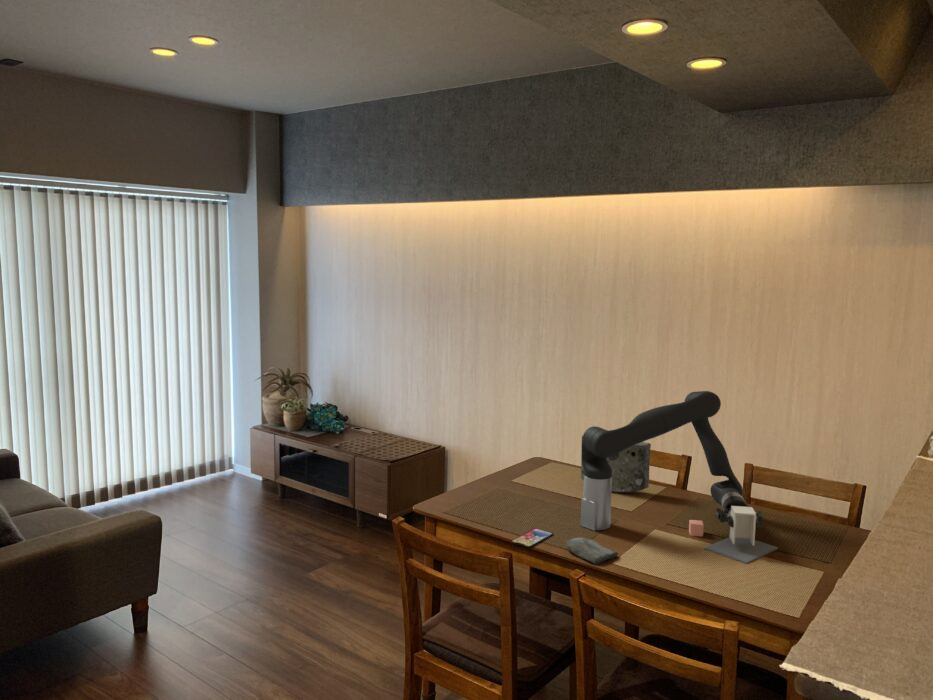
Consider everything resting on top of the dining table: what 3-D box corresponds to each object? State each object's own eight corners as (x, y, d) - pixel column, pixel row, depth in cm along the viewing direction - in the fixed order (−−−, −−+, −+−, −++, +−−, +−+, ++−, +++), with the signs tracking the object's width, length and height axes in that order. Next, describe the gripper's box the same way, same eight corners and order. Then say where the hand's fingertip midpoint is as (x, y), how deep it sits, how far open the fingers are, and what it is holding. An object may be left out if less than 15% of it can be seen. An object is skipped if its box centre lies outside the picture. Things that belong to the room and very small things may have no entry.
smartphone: (554, 533, 235) (529, 546, 223) (554, 536, 235) (529, 549, 223) (535, 527, 240) (509, 541, 228) (535, 530, 240) (509, 543, 228)
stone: (558, 548, 223) (594, 572, 212) (559, 537, 222) (595, 560, 211) (583, 537, 229) (619, 559, 218) (583, 526, 228) (620, 547, 217)
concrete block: (576, 485, 286) (577, 436, 284) (585, 480, 293) (587, 432, 291) (640, 498, 271) (642, 446, 269) (649, 492, 278) (651, 441, 276)
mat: (746, 563, 213) (746, 562, 213) (704, 549, 224) (704, 547, 224) (777, 548, 225) (777, 547, 225) (736, 535, 236) (736, 533, 235)
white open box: (732, 544, 222) (734, 512, 221) (729, 536, 228) (731, 505, 227) (754, 545, 221) (756, 514, 219) (750, 537, 227) (752, 507, 225)
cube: (690, 535, 235) (690, 524, 235) (688, 531, 239) (689, 519, 239) (703, 536, 234) (703, 524, 234) (701, 532, 238) (702, 520, 238)
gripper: (712, 494, 238) (720, 511, 222) (758, 496, 236) (770, 514, 219) (711, 516, 239) (719, 535, 223) (757, 519, 237) (768, 538, 220)
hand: (744, 525), depth 221 cm, fingers closed on white open box, 6 cm apart
